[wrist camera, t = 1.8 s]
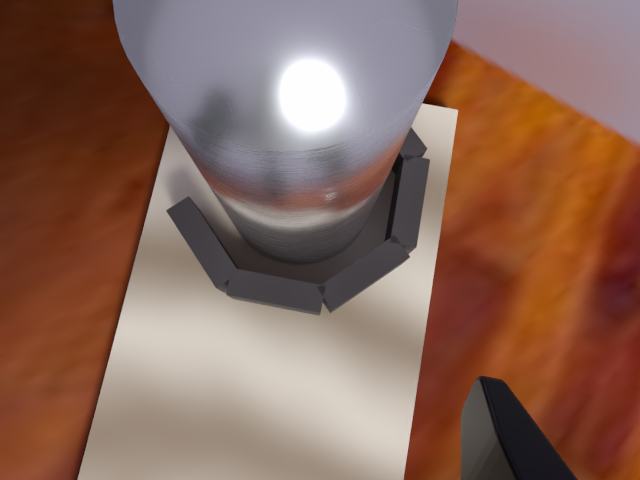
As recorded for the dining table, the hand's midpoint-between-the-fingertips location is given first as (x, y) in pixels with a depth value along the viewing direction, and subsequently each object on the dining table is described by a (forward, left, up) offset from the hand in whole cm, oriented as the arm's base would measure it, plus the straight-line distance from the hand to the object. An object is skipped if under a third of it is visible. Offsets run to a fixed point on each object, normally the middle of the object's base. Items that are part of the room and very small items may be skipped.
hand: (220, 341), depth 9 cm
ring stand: (+1, -1, -13) cm, 13 cm away
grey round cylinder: (+5, -4, -12) cm, 13 cm away
